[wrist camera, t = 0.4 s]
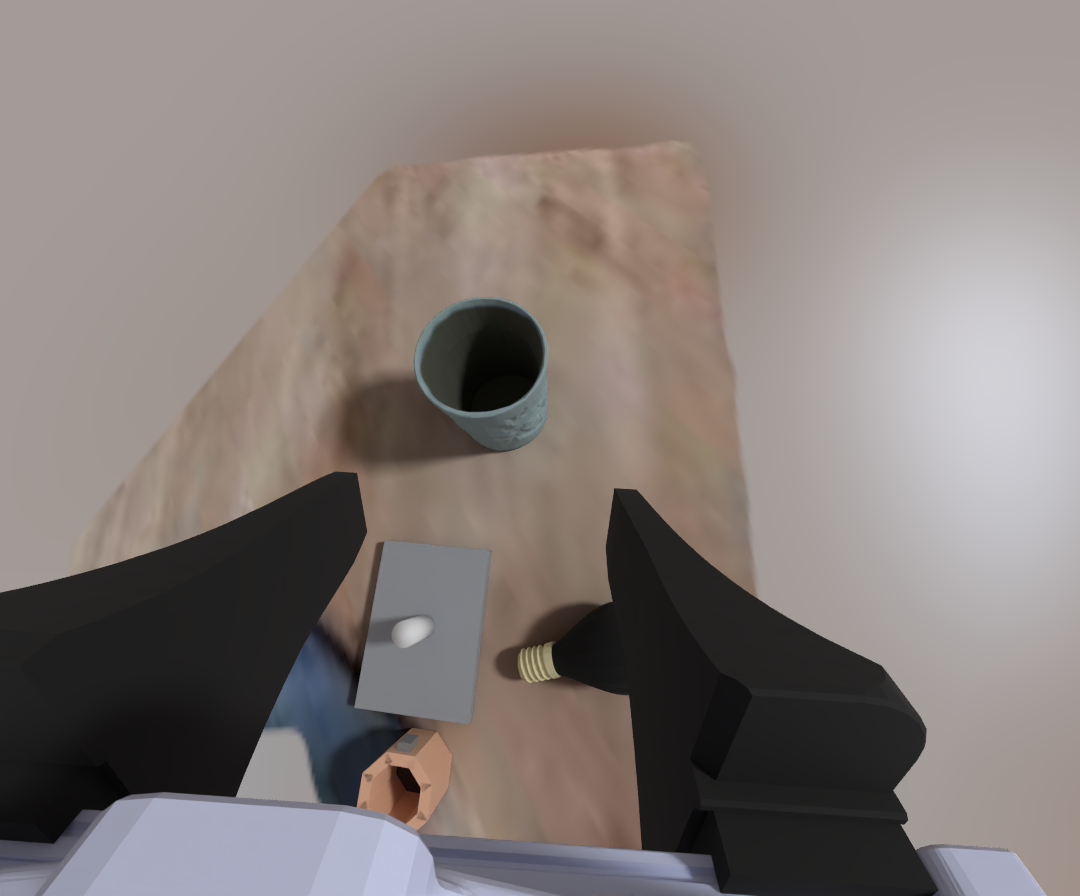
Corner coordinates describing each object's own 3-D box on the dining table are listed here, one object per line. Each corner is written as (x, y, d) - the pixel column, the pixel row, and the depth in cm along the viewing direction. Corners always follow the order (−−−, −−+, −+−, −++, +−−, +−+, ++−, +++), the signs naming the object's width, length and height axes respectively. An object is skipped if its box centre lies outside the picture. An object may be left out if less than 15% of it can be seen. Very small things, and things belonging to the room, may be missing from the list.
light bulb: (498, 697, 31) (659, 668, 28) (503, 610, 36) (640, 578, 33) (536, 723, 35) (680, 700, 32) (536, 642, 40) (660, 616, 37)
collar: (445, 809, 34) (423, 847, 30) (382, 798, 35) (352, 834, 31) (455, 726, 36) (436, 750, 31) (395, 717, 37) (368, 739, 32)
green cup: (439, 412, 44) (387, 358, 32) (509, 345, 45) (482, 271, 33) (507, 478, 41) (476, 446, 30) (578, 406, 42) (575, 348, 31)
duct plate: (471, 719, 36) (452, 745, 31) (361, 703, 37) (325, 725, 32) (491, 550, 39) (477, 548, 34) (390, 540, 41) (361, 537, 36)
